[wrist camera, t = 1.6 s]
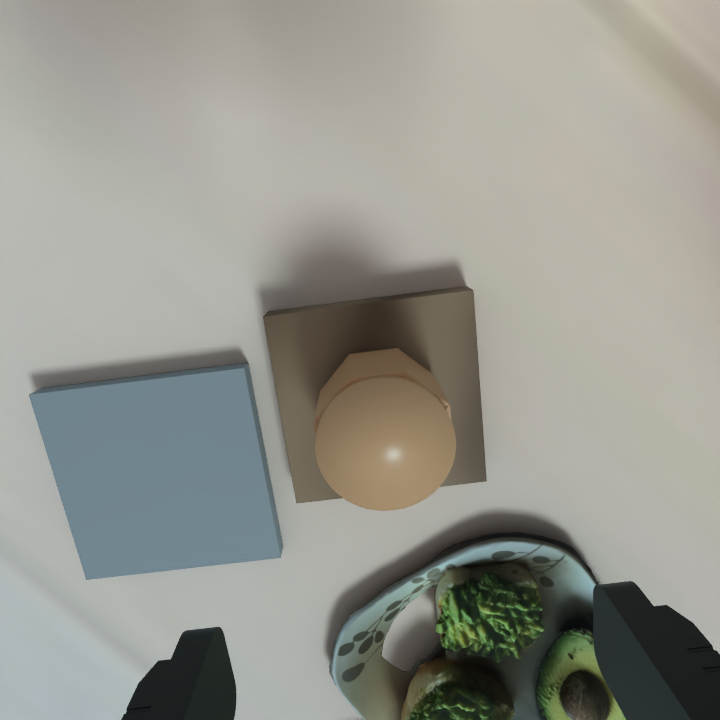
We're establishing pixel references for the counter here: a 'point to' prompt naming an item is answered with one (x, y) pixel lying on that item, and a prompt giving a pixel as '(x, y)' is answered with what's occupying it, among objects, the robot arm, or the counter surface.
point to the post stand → (371, 333)
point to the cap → (383, 431)
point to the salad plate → (484, 639)
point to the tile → (161, 470)
